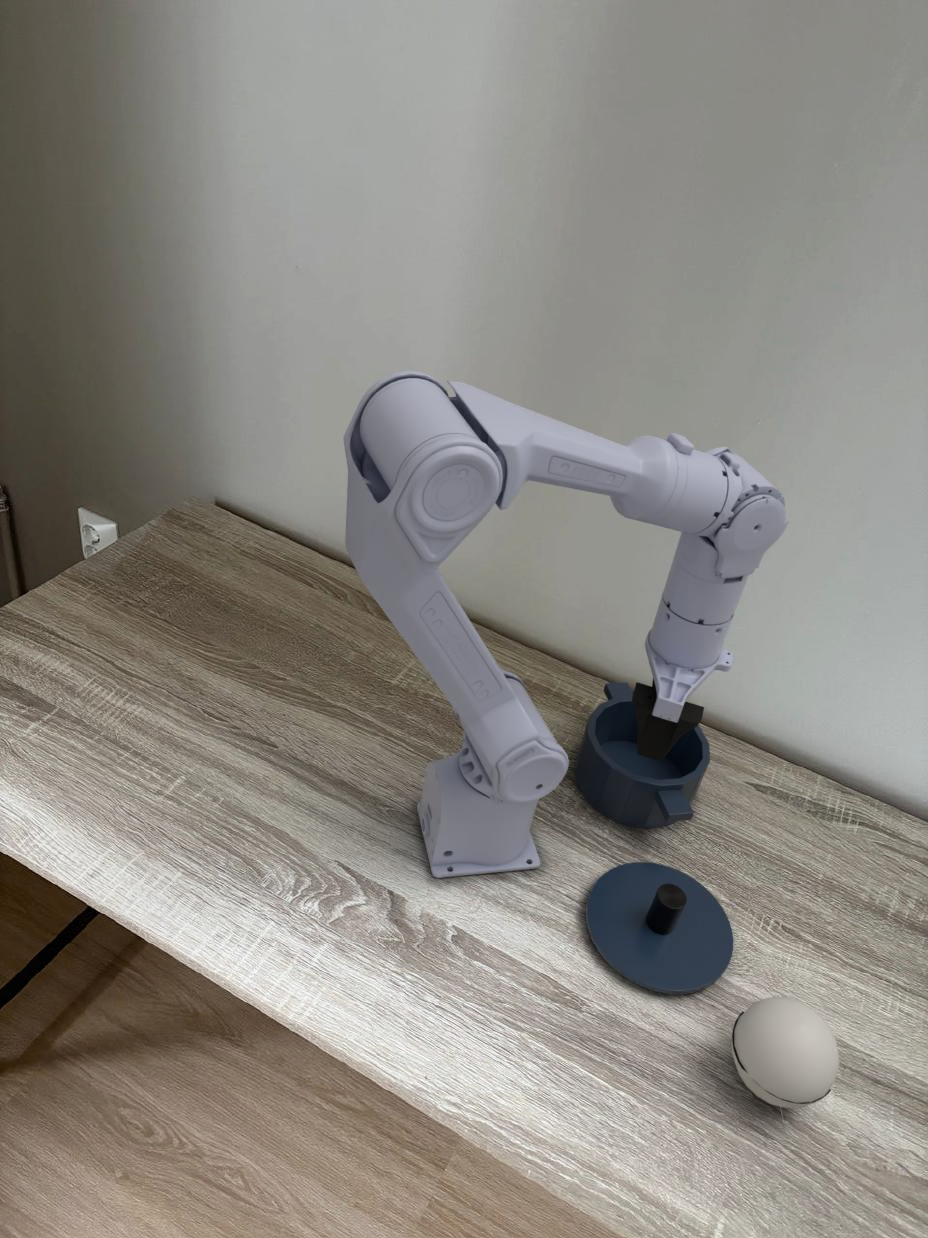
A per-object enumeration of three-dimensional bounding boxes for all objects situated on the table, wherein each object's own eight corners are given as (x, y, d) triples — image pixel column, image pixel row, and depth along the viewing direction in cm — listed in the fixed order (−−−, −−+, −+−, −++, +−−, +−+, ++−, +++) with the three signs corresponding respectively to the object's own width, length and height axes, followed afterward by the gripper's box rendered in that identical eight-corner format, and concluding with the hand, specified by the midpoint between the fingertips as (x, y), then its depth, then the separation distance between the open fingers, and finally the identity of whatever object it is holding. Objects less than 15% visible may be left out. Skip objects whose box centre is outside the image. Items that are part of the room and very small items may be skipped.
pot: (606, 857, 86) (622, 813, 83) (552, 723, 99) (564, 679, 95) (722, 846, 89) (743, 803, 86) (655, 717, 102) (670, 675, 98)
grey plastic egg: (729, 1012, 76) (760, 959, 71) (823, 1058, 74) (861, 1006, 70) (697, 1128, 68) (730, 1077, 64) (802, 1183, 67) (843, 1133, 62)
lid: (612, 1008, 75) (627, 973, 72) (565, 876, 84) (577, 841, 81) (754, 988, 78) (774, 954, 75) (694, 863, 87) (709, 829, 84)
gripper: (740, 673, 70) (691, 798, 79) (756, 567, 81) (712, 687, 90) (644, 645, 72) (606, 771, 80) (673, 545, 83) (637, 665, 91)
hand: (656, 725), depth 85 cm, fingers open, 7 cm apart
